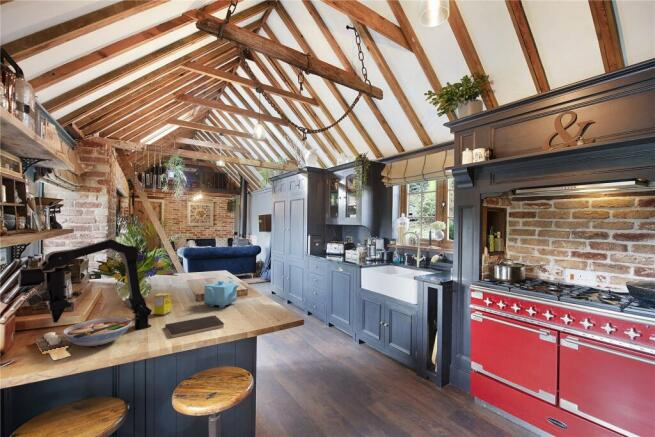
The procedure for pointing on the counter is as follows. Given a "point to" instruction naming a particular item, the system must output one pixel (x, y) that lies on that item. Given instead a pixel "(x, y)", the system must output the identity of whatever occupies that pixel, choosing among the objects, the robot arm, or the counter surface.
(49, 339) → the button
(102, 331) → the ramen bowl
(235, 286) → the teakettle
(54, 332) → the button
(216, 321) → the hardcover book
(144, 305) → the robot arm
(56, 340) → the button
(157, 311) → the supplement box
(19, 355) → the counter surface
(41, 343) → the button board
